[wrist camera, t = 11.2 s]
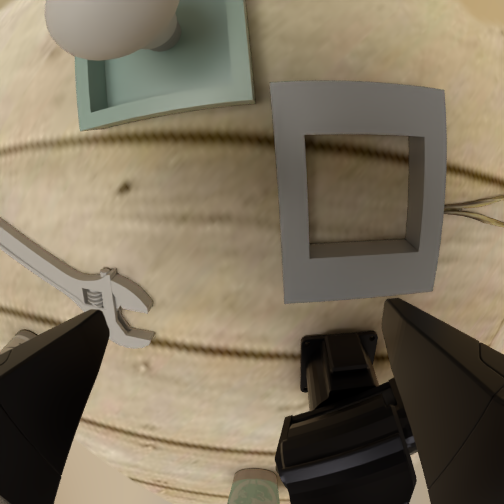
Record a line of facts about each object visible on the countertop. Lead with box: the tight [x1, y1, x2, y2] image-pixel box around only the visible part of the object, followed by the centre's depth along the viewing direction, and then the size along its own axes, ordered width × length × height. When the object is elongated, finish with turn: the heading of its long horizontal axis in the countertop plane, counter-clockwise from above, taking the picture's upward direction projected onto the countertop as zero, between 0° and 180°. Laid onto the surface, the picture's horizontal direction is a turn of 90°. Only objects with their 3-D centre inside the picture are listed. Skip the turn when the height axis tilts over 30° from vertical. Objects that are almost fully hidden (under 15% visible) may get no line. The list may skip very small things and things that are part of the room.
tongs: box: [444, 196, 504, 227], centre depth 20 cm, size 4×13×2 cm, turn 99°
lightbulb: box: [45, 0, 181, 61], centre depth 11 cm, size 6×6×11 cm
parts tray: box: [75, 0, 255, 131], centre depth 15 cm, size 11×11×3 cm
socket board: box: [270, 81, 447, 304], centre depth 19 cm, size 14×11×2 cm
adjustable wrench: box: [0, 218, 154, 348], centre depth 23 cm, size 25×6×2 cm, turn 57°
